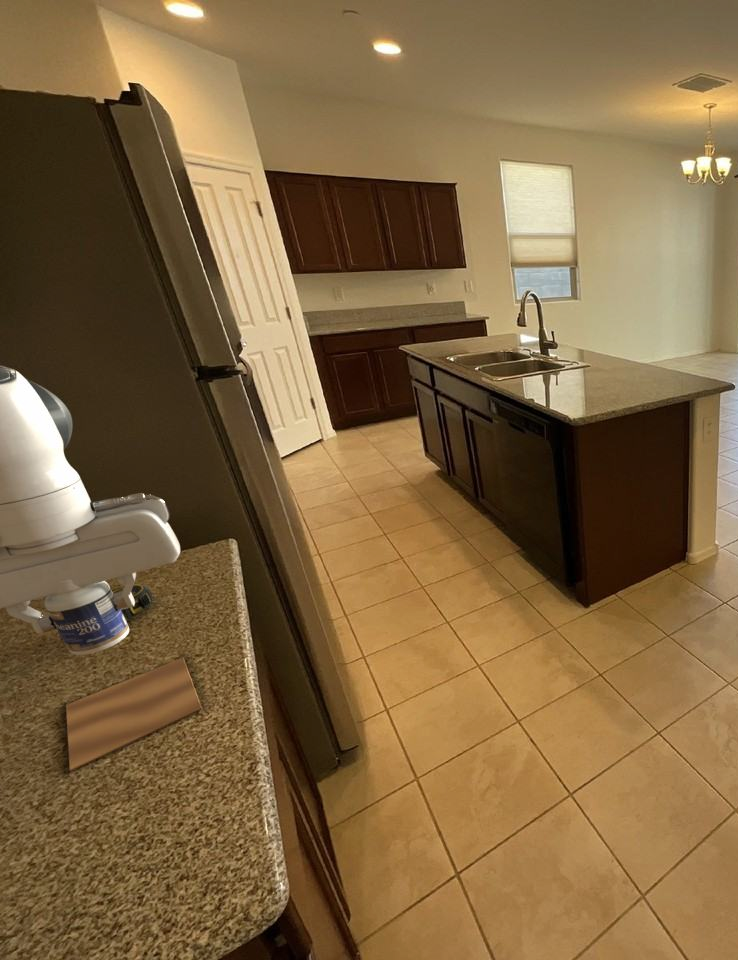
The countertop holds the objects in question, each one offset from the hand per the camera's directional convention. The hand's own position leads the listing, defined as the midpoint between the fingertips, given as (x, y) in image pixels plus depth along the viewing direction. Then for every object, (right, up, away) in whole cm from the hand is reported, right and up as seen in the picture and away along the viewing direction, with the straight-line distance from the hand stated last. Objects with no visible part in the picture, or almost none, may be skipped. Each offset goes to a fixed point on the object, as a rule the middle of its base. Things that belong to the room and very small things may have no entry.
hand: (88, 617), depth 62 cm
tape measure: (-19, -6, +23) cm, 30 cm away
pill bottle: (0, -3, +2) cm, 4 cm away
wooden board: (0, -13, +5) cm, 14 cm away
